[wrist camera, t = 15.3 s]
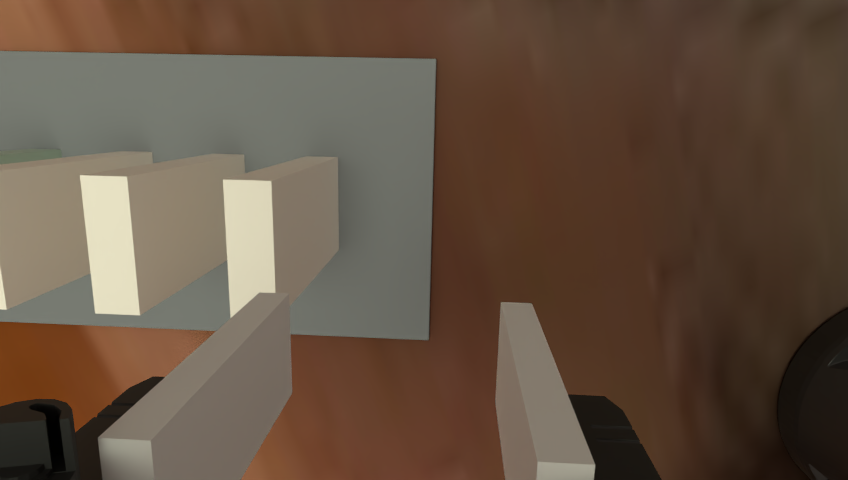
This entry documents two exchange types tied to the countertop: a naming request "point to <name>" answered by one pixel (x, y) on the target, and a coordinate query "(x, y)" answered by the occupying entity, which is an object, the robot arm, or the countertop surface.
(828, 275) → the countertop surface
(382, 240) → the domino mat
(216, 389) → the robot arm
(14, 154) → the sage domino
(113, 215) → the ivory domino
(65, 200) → the ivory domino
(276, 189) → the ivory domino
